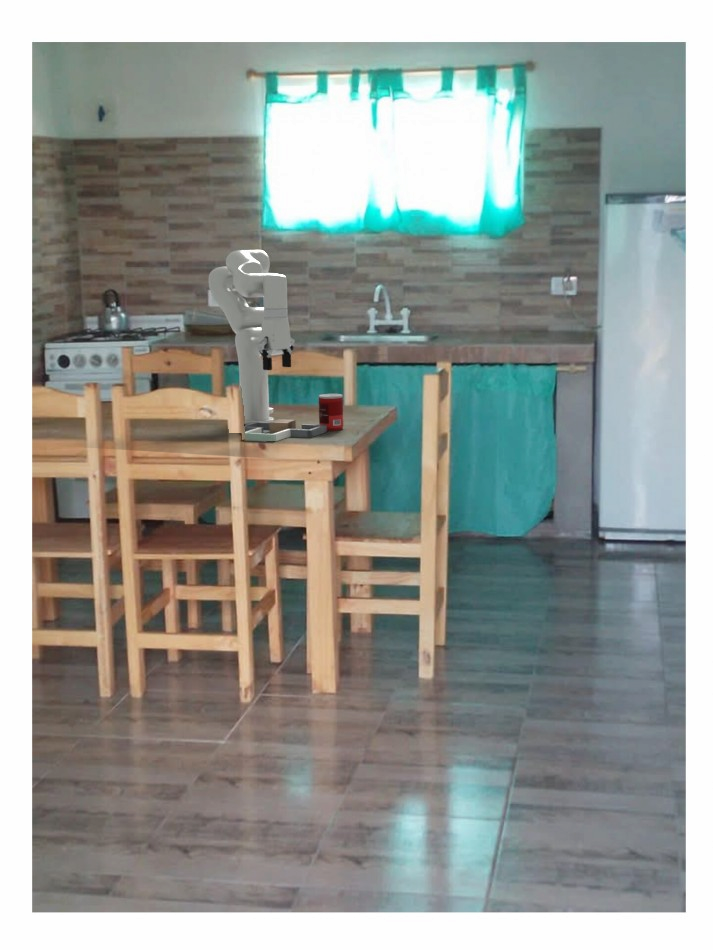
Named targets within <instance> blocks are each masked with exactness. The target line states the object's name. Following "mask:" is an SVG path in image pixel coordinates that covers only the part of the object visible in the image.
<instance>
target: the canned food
mask: <svg viewBox="0 0 713 950" xmlns="http://www.w3.org/2000/svg"><path fill="white" fill-rule="evenodd" d="M343 398H344V396H343V394H341V393H325V394H324V393H323V394H319V395H318V420H319V421H318V425H327V432H334V431H340V430H343V429H344V399H343Z"/></svg>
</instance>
